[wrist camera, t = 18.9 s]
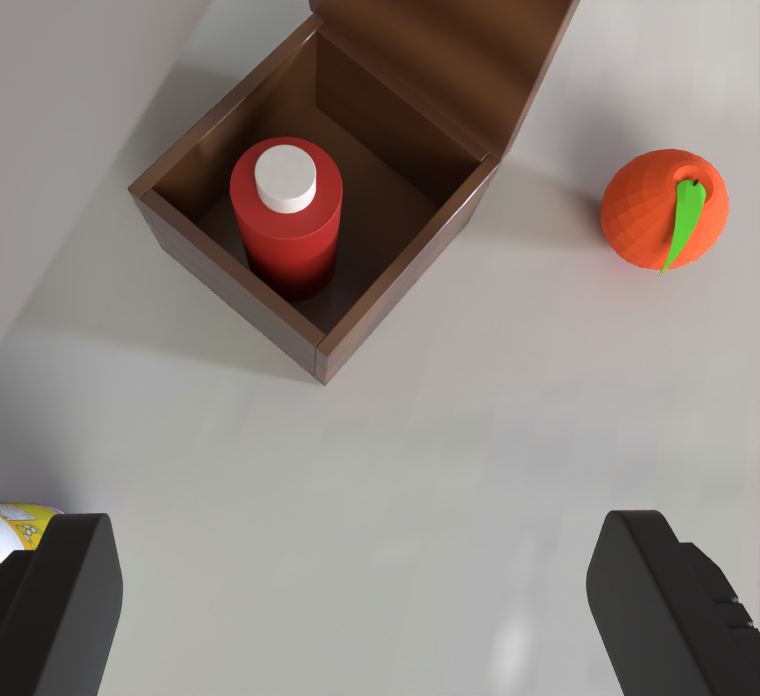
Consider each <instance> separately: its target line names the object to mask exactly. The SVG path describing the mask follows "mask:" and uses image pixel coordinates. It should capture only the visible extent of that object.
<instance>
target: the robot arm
mask: <svg viewBox="0 0 760 696" xmlns="http://www.w3.org/2000/svg"><path fill="white" fill-rule="evenodd" d="M586 590H587V598H588V603H589V606H590V609H591V612H592V615H593V617H594V620H595V622H596V625H597V628H598V630H599V633H600V635H601V638H602V640H603V643H604V645H605V648H606V650H607V653H608V655H609V658H610V661H611V663H612V666H613V668H614V671H615V673H616V676H617V678H618V681H619V683H620V686H621V689H622V691H623V694H624V696H760V632H759V630H758V629H757V628H754V626H753V621H752V619H751V617H750V616H749V614H748V613H747V611H746V609H745V608H744V606H743V604H742V603H739V602H738V596H737V595H736V593H735V592H734V590H733V588H732V587H731V585H730V583H729V582H728V580H727V579H726V577H725V575H724V574H723V572H722V571H721V569H720V568H719V567H718V566H717V565H716V564H715V563H714V562H713V561H712V560H711V559H710V558H708V557H707V556H706V555H705V554H704V553H703V552H702V551H701V550H700V549H699V548H697V547H696V546H695V545H694V544H693V543H679V541H678V539H677V538H676V536H675V534H674V532H673V531H672V529H671V527H670V526H669V524H668V522H667V520H666V519H665V517H664V516H663V515H662V514H661V513H660V512H659V511H656V510H613V511H610V512H609V513H608V514H607V516H606V518H605V520H604V523H603V526H602V529H601V532H600V535H599V538H598V541H597V544H596V547H595V550H594V553H593V556H592V559H591V562H590V565H589V568H588V571H587V578H586ZM122 598H123V580H122V573H121V569H120V564H119V559H118V554H117V549H116V544H115V540H114V535H113V530H112V525H111V521H110V518H109V516H108V514H106V513H87V514H55V515H53V516H52V517H51V519H50V520H49V522H48V524H47V526H46V528H45V531H44V533H43V535H42V537H41V539H40V542H39V544H38V546H37V548H36V550H13V551H12V552H11V553H10V554H9V555H8V556H7V557H6V558H5V559H4V560H3V561H2V562H1V563H0V696H97V694H98V690H99V687H100V683H101V680H102V676H103V673H104V669H105V666H106V663H107V659H108V656H109V652H110V649H111V645H112V642H113V638H114V635H115V631H116V628H117V624H118V621H119V617H120V612H121V607H122Z"/></svg>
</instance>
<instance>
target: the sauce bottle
mask: <svg viewBox="0 0 760 696" xmlns="http://www.w3.org/2000/svg"><path fill="white" fill-rule="evenodd" d="M342 193H343V187H342V179H341V176H340V172H339V170H338V168H337V166H336V164H335V163H334V161H333V160H332V159H331V157H330V156H329V155H328V154H327V153H326V152H325V151H324V150H322V149H321V148H320V147H318V146H317V145H315V144H313V143H311V142H309V141H306V140H304V139H300V138H295V137H275V138H270V139H267V140H264V141H261V142H259V143H257V144H255V145H254V146H252V147H251V148H249V149H248V150H247V151H246V152H245V153H244V154H243V155H242V156H241V157H240V159H239V160H238V162H237V163H236V165H235V167H234V169H233V172H232V175H231V179H230V196H231V200H232V204H233V208H234V212H235V215H236V219H237V223H238V227H239V231H240V234H241V238H242V242H243V246H244V250H245V253H246V257H247V261H248V265H249V269H250V271H251V272H252V273H253V274H254V275H256V276H257V277H258V278H259V279H260V280H261V281H263V282H264V283H265V284H266V285H267V286H269V287H270V288H271V289H272V290H273V291H275V292H276V293H277V294H278V295H279V296H281V297H282V298H283V299H284V300H285V301H286V302H300V301H305V300H308V299H310V298H312V297H314V296H316V295H318V294H319V293H320V292H322V291H323V290H324V289H325V288H326V286H327V285H328V284H329V282H330V280H331V278H332V276H333V273H334V270H335V262H336V252H337V242H338V232H339V222H340V212H341V203H342Z"/></svg>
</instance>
